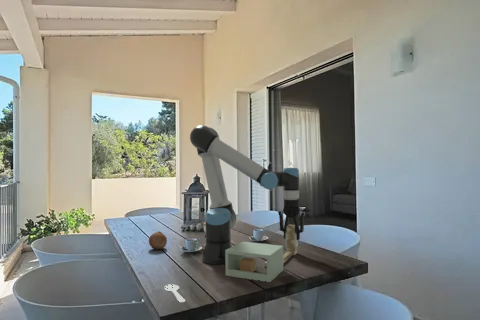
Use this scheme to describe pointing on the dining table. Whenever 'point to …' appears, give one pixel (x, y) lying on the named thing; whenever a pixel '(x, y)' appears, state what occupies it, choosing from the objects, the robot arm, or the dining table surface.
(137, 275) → the dining table surface
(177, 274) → the dining table surface
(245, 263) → the cube
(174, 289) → the white fork
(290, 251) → the tan tall part
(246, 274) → the cubby
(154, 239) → the onion
